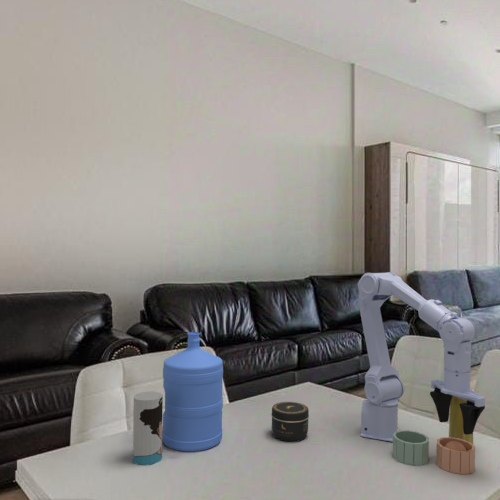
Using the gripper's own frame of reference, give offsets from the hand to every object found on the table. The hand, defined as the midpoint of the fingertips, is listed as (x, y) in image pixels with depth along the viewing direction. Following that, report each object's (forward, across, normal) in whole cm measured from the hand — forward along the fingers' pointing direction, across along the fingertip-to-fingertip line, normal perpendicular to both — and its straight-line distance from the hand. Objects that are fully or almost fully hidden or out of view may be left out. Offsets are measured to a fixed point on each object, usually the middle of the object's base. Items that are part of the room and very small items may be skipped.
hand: (455, 427), depth 112 cm
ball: (+6, 0, 0) cm, 6 cm away
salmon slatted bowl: (+9, 0, 0) cm, 9 cm away
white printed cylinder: (+9, -28, -67) cm, 73 cm away
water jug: (+9, -35, -54) cm, 65 cm away
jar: (+9, -29, -29) cm, 42 cm away
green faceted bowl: (+9, -7, -7) cm, 13 cm away
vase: (+9, -7, +9) cm, 14 cm away
